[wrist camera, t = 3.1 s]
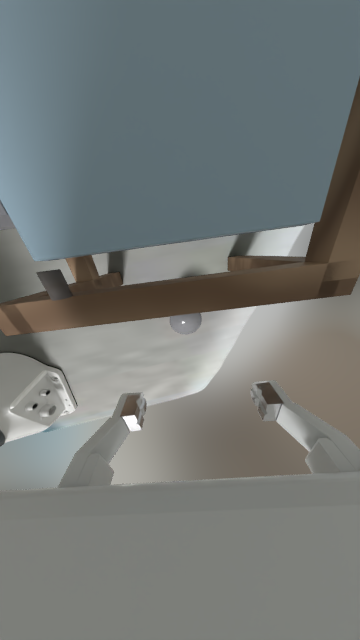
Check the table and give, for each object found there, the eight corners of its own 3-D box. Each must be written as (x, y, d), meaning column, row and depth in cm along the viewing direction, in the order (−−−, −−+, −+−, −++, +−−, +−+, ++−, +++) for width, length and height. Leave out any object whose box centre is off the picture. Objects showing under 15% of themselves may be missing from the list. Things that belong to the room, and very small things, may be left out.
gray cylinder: (198, 319, 26) (202, 332, 22) (173, 322, 27) (172, 335, 22) (196, 294, 24) (200, 303, 20) (169, 298, 24) (167, 307, 20)
